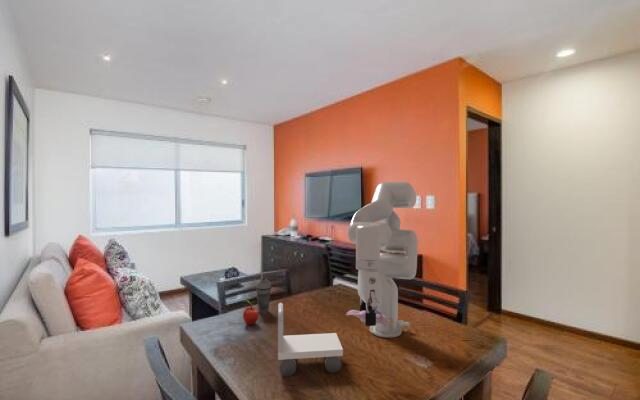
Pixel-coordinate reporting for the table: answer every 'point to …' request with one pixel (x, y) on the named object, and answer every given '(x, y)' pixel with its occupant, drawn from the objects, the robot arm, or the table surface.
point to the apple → (250, 315)
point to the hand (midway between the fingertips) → (367, 320)
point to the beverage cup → (263, 294)
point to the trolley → (307, 348)
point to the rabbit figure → (379, 319)
